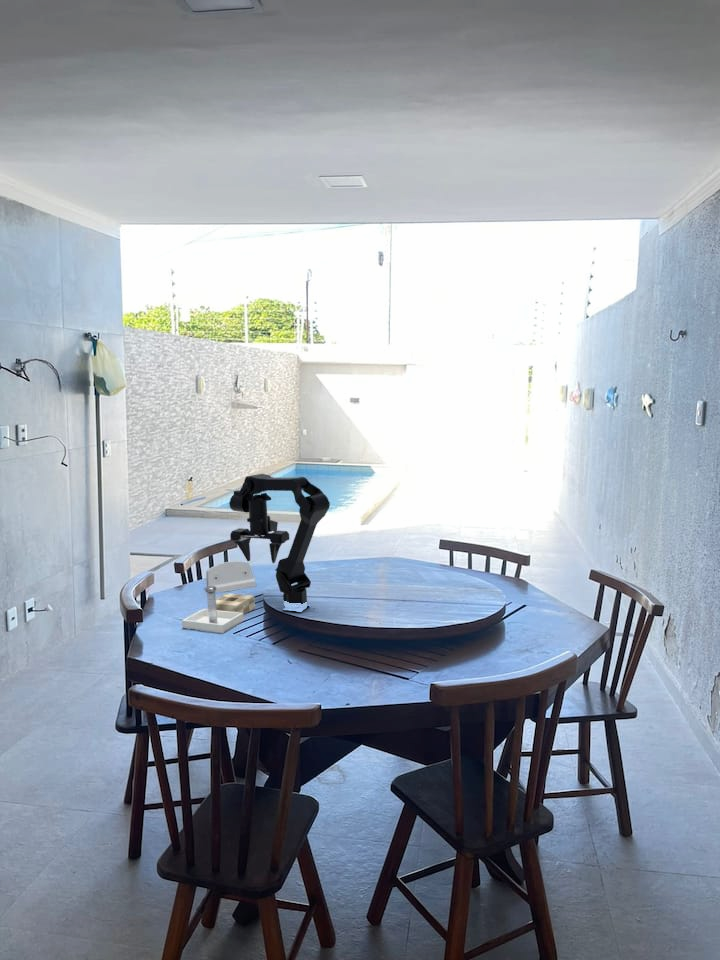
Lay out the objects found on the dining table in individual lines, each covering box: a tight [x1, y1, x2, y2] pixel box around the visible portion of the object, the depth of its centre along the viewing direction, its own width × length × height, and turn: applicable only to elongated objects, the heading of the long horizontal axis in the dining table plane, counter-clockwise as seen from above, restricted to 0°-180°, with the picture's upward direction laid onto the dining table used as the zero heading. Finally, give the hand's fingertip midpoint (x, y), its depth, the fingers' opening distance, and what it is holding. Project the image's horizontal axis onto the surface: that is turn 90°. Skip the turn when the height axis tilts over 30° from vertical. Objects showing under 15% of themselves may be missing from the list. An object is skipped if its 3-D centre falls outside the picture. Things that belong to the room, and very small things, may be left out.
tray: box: [181, 608, 244, 635], centre depth 226 cm, size 14×11×2 cm
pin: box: [204, 586, 218, 624], centre depth 225 cm, size 3×3×11 cm
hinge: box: [205, 560, 257, 595], centre depth 263 cm, size 17×5×10 cm, turn 118°
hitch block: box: [216, 592, 256, 616], centre depth 237 cm, size 10×10×4 cm
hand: (261, 561), depth 245 cm, fingers open, 9 cm apart
